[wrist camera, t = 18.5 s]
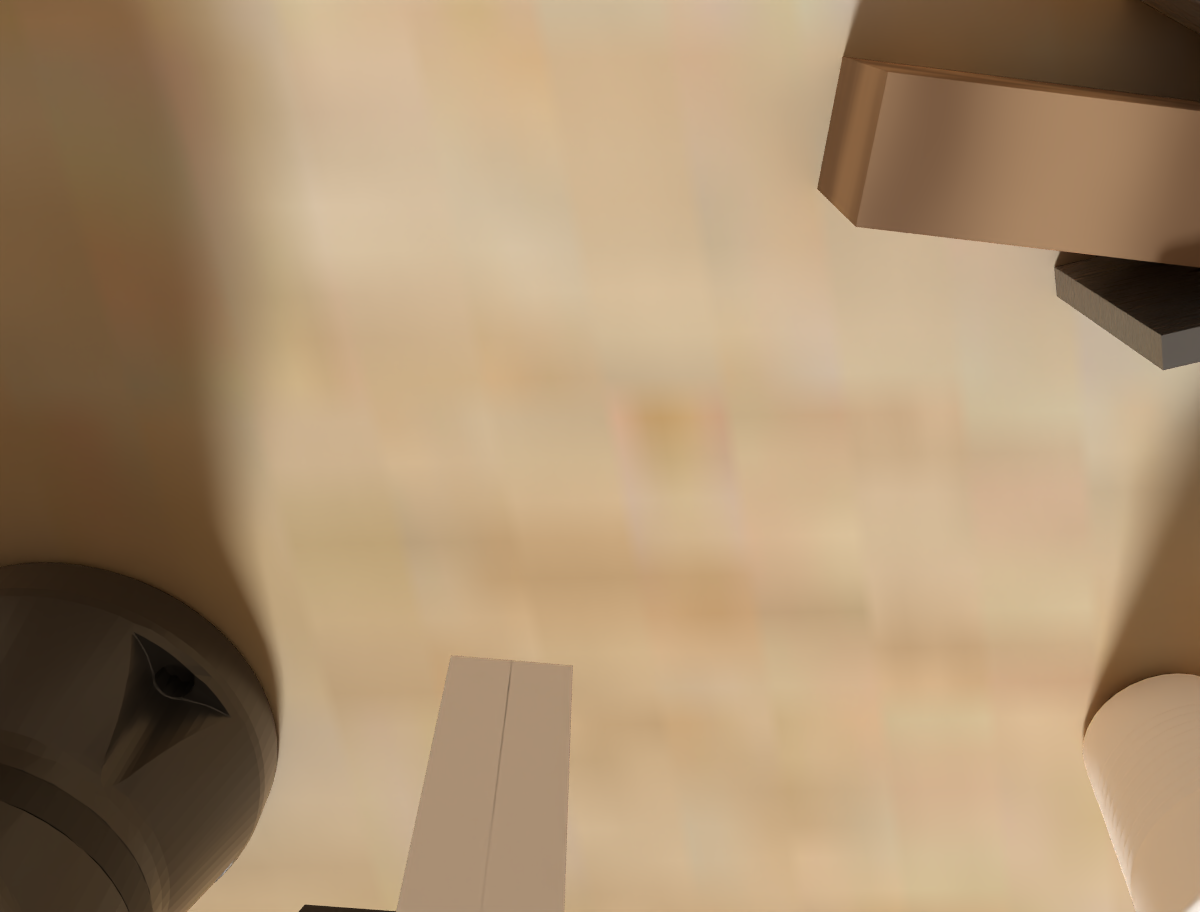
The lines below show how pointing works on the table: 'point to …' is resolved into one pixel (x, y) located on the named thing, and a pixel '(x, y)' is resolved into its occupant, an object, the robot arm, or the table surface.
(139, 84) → the table surface
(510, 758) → the robot arm
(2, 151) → the table surface
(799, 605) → the table surface
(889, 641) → the table surface
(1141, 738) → the cup
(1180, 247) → the slat
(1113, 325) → the endcap
